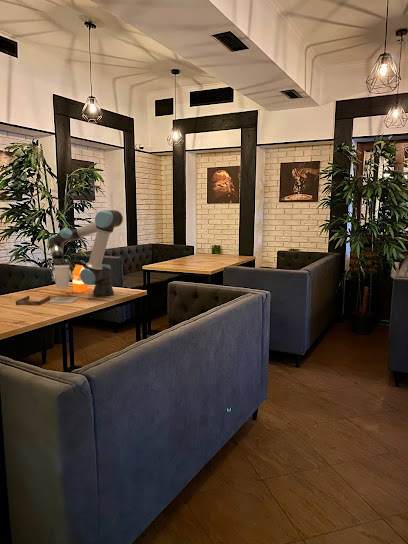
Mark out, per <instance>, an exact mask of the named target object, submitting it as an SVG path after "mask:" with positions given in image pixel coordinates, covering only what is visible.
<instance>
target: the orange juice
mask: <svg viewBox="0 0 408 544" xmlns="http://www.w3.org/2000/svg"><path fill="white" fill-rule="evenodd" d="M83 269H85V266H84V265H80V264H75V267H74V271H72V273H73V274H72V291H73V292H79V293H82V292H88V291H89V285H86V284H84V283H83V282H82V280H81V278H80V272H81V271H82V270H83ZM87 290H88V291H87Z"/></svg>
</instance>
